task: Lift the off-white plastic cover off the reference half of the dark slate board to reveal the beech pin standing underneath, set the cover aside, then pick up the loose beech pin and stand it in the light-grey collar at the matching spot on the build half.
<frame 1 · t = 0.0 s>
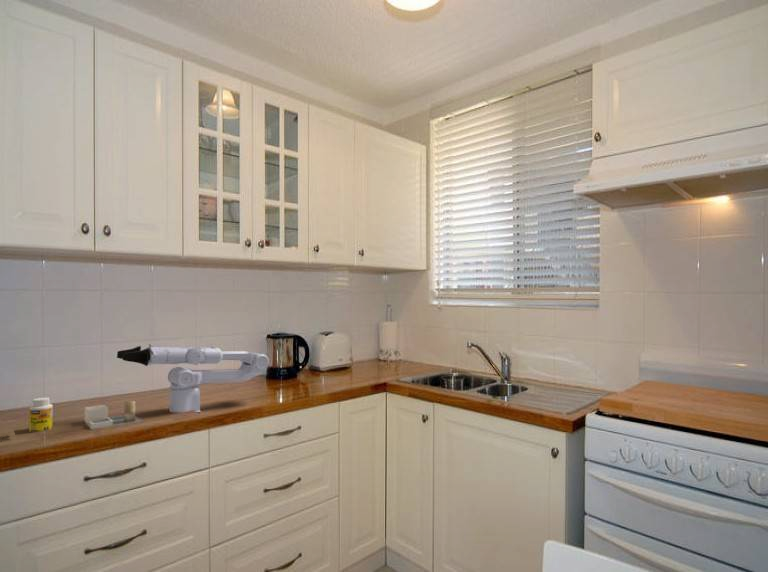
hand: (120, 355, 148), 22 cm above the countertop, tool horizontal, fingers open, 7 cm apart
loose pin: (129, 420, 146), point 1 cm above the countertop, touching layout board
layout board: (112, 424, 145), on the countertop
supplement bottle: (40, 433, 137), on the countertop
cover: (96, 421, 145), point 1 cm above the countertop, touching layout board
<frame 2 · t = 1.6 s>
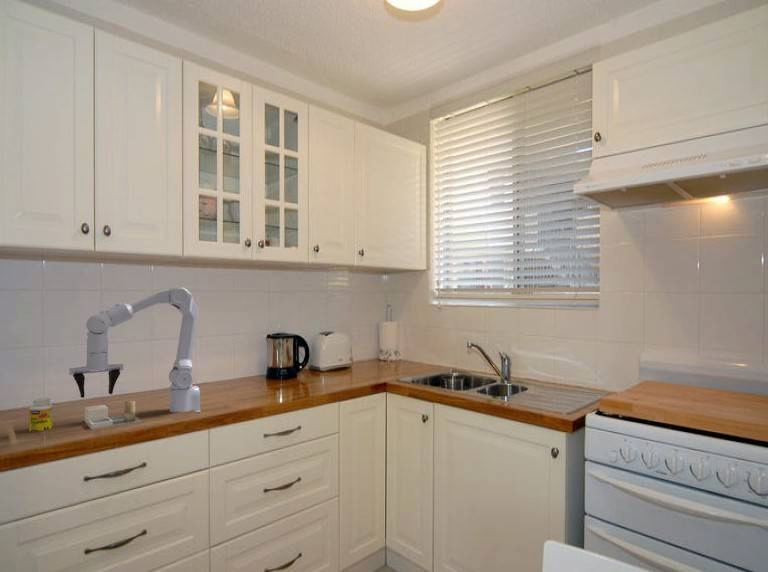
hand: (96, 395, 145), 9 cm above the countertop, tool pointing down, fingers open, 7 cm apart
nothing on the countertop moved.
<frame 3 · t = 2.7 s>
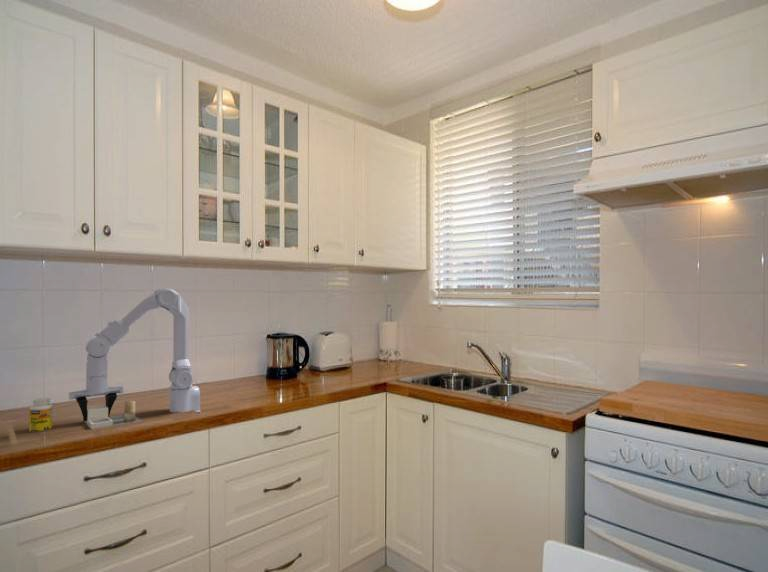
hand: (96, 418, 145), 2 cm above the countertop, tool pointing down, fingers closed on cover, 5 cm apart
cover: (96, 421, 145), point 1 cm above the countertop, touching gripper, layout board
everything else where it was.
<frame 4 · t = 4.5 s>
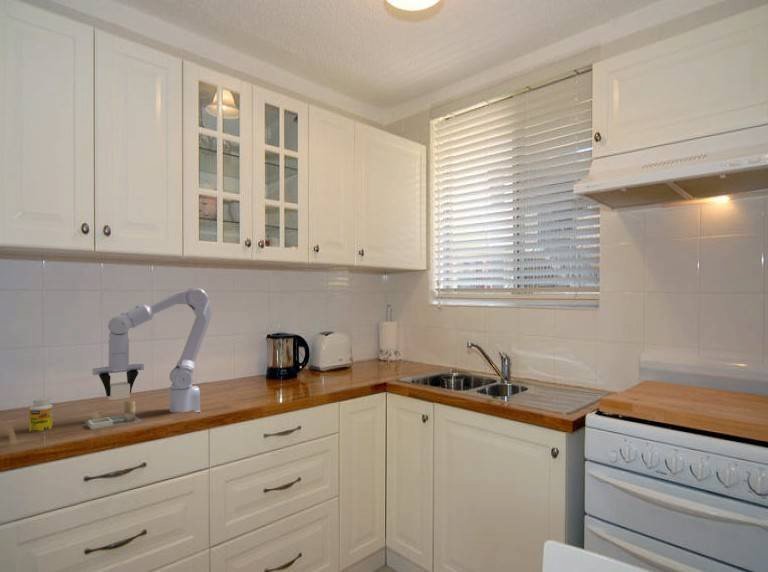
hand: (118, 394, 150), 9 cm above the countertop, tool pointing down, fingers closed on cover, 5 cm apart
cover: (118, 397, 150), point 8 cm above the countertop, touching gripper
everything else where it was.
when the fingers open (3 cm above the countertop, at t = 6.3 s): cover stays where it is, resting on layout board.
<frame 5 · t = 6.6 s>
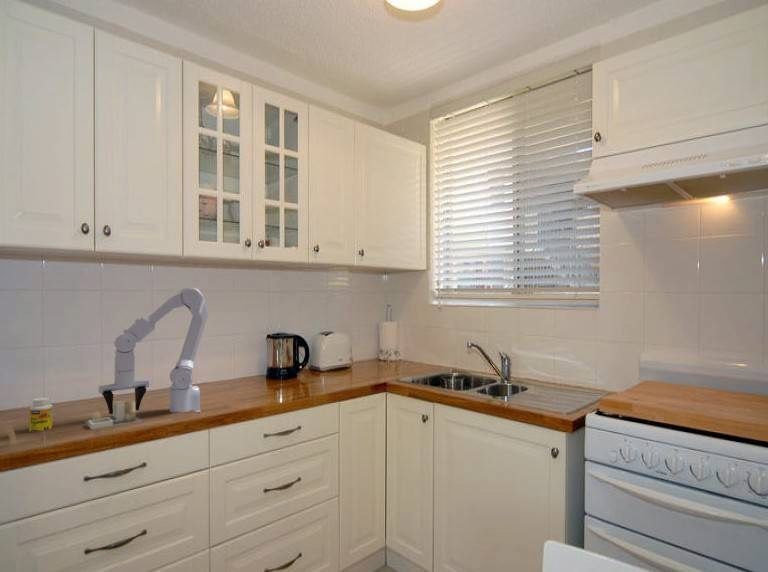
hand: (124, 411, 151), 3 cm above the countertop, tool pointing down, fingers open, 7 cm apart
cover: (124, 416, 151), point 1 cm above the countertop, touching layout board
everything else where it was.
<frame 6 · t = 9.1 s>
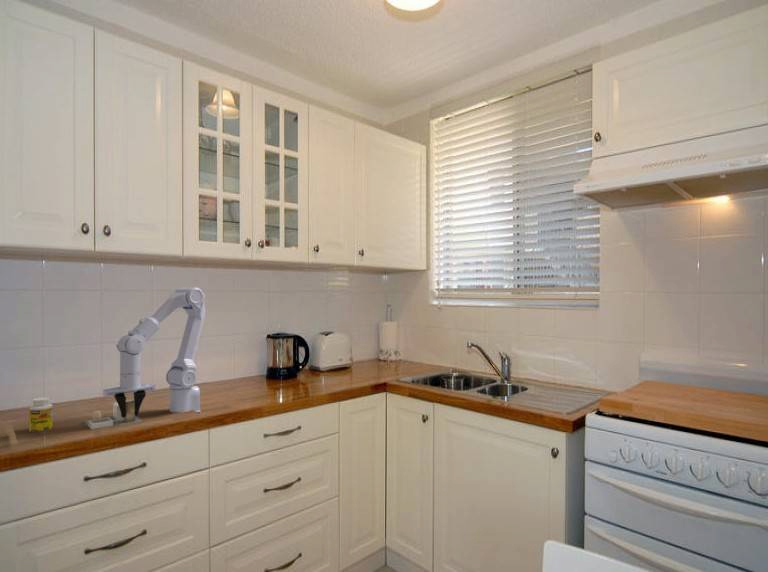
hand: (129, 415, 146), 3 cm above the countertop, tool pointing down, fingers closed on loose pin, 3 cm apart
loose pin: (129, 420, 146), point 1 cm above the countertop, touching gripper, layout board
everything else where it was.
when the fingers open (4 cm above the countertop, at t = 11.6 s): loose pin stays where it is, resting on layout board.
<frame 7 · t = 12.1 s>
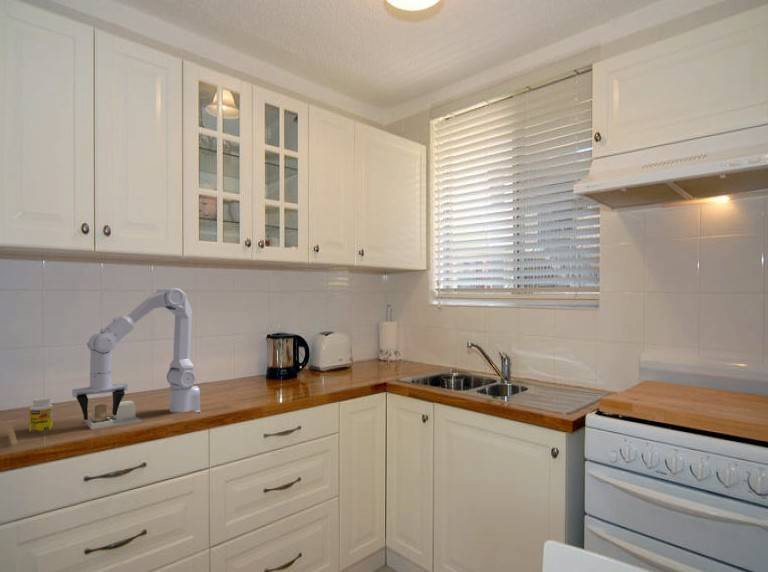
hand: (100, 416, 141), 4 cm above the countertop, tool pointing down, fingers open, 7 cm apart
loose pin: (100, 425, 141), point 1 cm above the countertop, touching layout board
everything else where it was.
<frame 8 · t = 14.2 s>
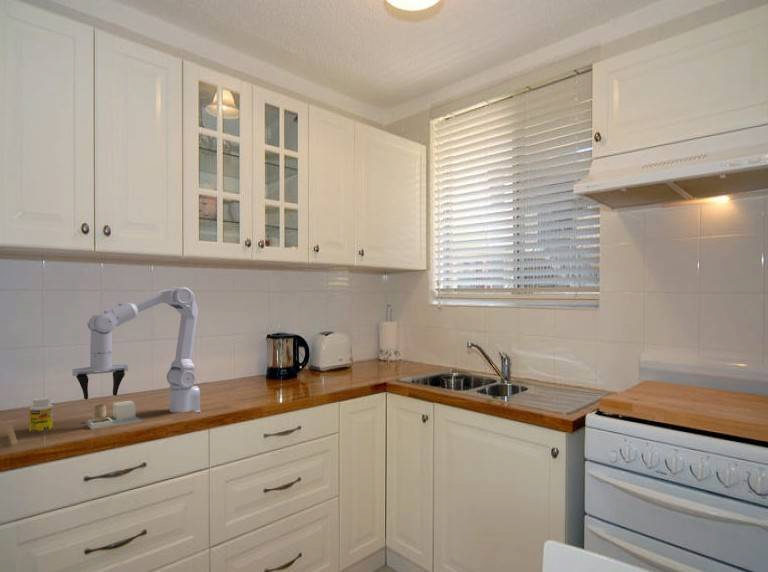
hand: (100, 396, 141), 10 cm above the countertop, tool pointing down, fingers open, 7 cm apart
nothing on the countertop moved.
at the end: loose pin 0.0 cm from the target spot on the layout board, point 1.2 cm above the layout board's base; loose pin tilted 0°; cover moved 8.0 cm from its start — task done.
